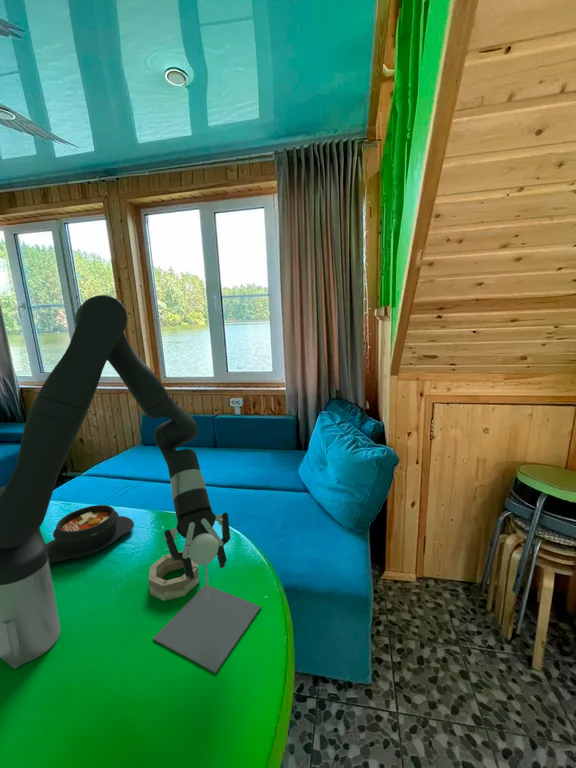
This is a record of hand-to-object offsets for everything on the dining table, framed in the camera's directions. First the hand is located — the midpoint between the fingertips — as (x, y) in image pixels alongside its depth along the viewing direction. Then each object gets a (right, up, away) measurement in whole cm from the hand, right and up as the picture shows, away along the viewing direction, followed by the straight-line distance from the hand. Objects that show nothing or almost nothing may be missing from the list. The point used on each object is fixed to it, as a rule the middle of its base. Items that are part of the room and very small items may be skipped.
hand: (207, 572), depth 68 cm
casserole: (-44, -10, +33) cm, 56 cm away
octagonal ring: (-12, -11, +16) cm, 23 cm away
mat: (0, -13, +3) cm, 13 cm away
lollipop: (0, -8, +3) cm, 8 cm away
